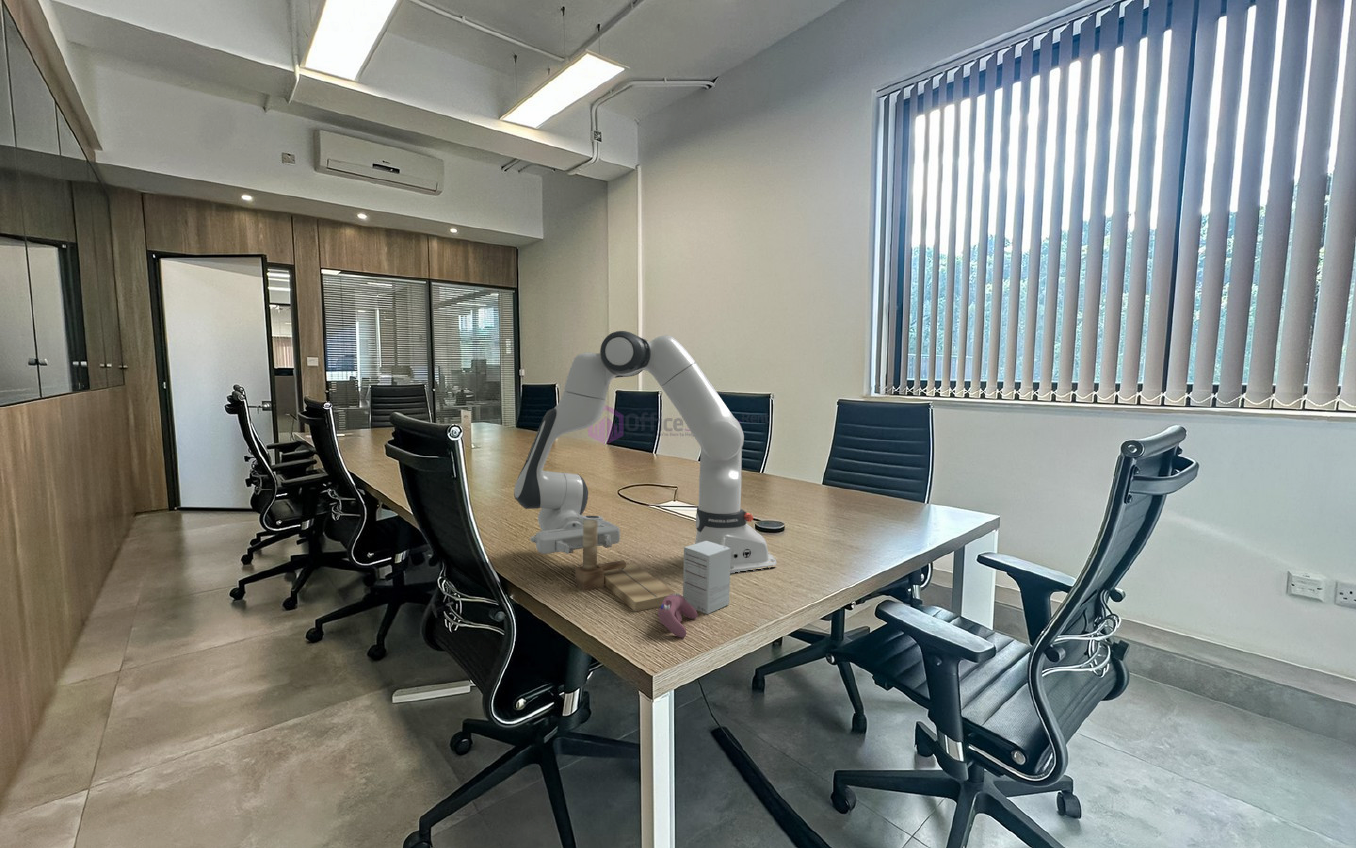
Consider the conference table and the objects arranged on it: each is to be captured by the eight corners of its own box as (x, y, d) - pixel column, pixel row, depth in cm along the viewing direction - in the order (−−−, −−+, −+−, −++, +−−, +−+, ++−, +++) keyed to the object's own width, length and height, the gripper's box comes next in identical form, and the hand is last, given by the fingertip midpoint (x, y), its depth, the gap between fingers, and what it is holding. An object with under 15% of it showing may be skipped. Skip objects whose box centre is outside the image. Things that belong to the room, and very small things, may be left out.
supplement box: (704, 594, 122) (706, 539, 120) (730, 605, 116) (732, 547, 115) (681, 603, 116) (682, 546, 115) (706, 615, 111) (708, 555, 110)
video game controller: (680, 622, 111) (666, 591, 111) (700, 616, 110) (685, 583, 110) (665, 645, 101) (650, 610, 102) (687, 638, 100) (671, 602, 101)
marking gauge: (583, 591, 122) (584, 525, 120) (575, 583, 126) (576, 520, 125) (628, 582, 127) (630, 520, 126) (619, 575, 132) (621, 515, 130)
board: (594, 576, 131) (595, 568, 130) (632, 570, 136) (632, 562, 135) (635, 611, 112) (635, 602, 112) (677, 602, 117) (677, 593, 117)
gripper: (528, 524, 131) (545, 539, 119) (606, 515, 141) (629, 528, 129) (528, 549, 131) (545, 567, 120) (606, 538, 142) (629, 554, 130)
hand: (589, 547), depth 125 cm, fingers open, 8 cm apart
